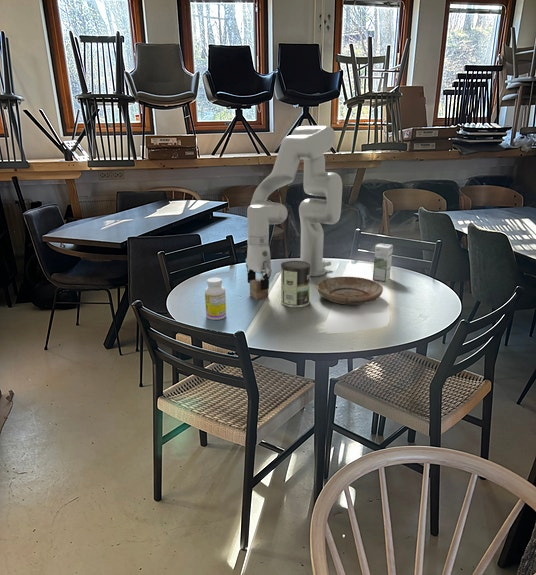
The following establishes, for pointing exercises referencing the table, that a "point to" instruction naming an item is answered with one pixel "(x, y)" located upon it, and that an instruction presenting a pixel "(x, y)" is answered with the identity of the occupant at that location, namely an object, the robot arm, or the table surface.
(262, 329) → the table surface
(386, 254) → the syrup box
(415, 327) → the table surface
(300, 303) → the coffee can
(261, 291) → the walnut block
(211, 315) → the supplement bottle
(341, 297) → the wooden plate
